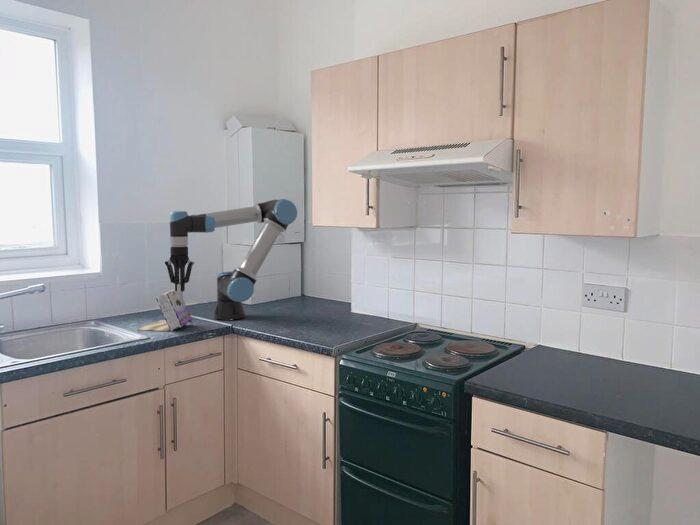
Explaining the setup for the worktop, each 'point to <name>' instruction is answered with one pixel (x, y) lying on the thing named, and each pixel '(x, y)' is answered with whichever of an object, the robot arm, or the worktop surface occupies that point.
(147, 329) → the beech board
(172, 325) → the candy box
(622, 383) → the worktop surface
